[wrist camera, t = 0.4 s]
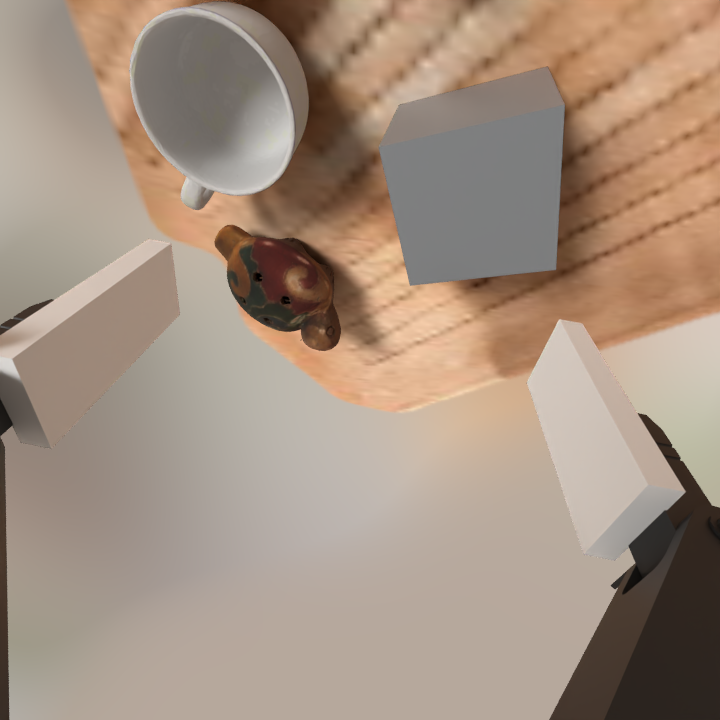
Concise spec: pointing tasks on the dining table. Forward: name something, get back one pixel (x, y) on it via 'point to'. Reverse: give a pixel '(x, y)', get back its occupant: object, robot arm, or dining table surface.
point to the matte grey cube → (477, 179)
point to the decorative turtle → (281, 285)
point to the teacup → (219, 97)
